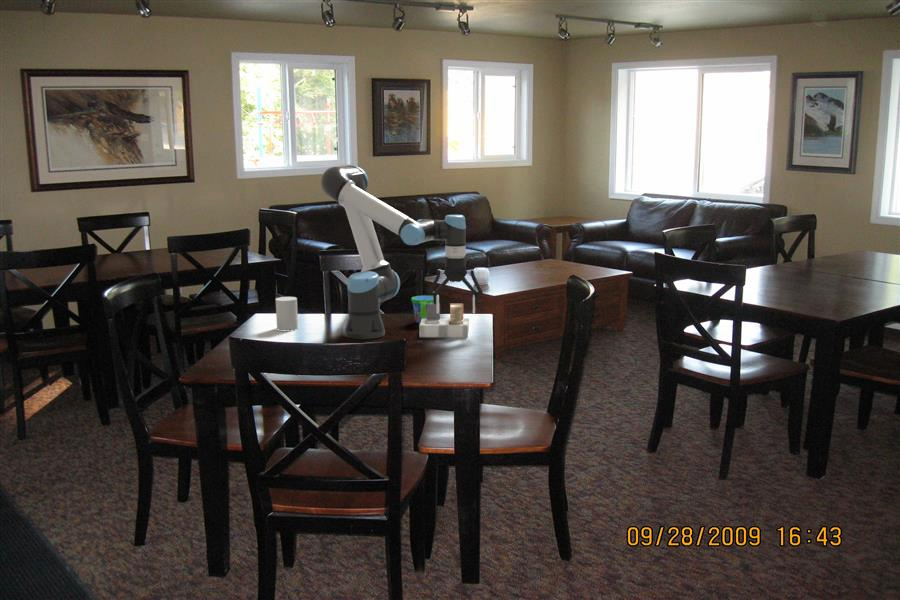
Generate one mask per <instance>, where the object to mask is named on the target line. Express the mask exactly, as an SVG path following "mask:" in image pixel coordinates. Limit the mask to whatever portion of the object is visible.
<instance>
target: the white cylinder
mask: <svg viewBox="0 0 900 600" xmlns="http://www.w3.org/2000/svg"><path fill="white" fill-rule="evenodd" d="M275 312H276V316H275V317H276V330H277V329H279V330H293V331H296V330H295V329H297V330H298V329H299V320H298V297H296V296H280V297H276V298H275ZM279 330H278V331H279Z"/></svg>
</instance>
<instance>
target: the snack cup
mask: <svg viewBox="0 0 900 600" xmlns="http://www.w3.org/2000/svg"><path fill="white" fill-rule="evenodd" d="M411 303H412V308H413V314H414V319H415V320H414V321H415V323H417V324H420V322H421V320H422V318H427V304H434V303H433V295H416V296H412V297H411Z"/></svg>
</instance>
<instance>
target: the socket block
mask: <svg viewBox="0 0 900 600" xmlns="http://www.w3.org/2000/svg"><path fill="white" fill-rule="evenodd" d="M451 305H461V325H453V324H451V312H450V311H449V318H441V304H440V303H439V313H437V311H436V304H427V318H422V320H421V322H420V323H419V326H418V327H419V328H418V330H419V333H418V335H419V338H469V337H468V336H469V331H470V330H469V327H470V324H469V321H470V320H469V318H464V303H449V308H450V307H451Z"/></svg>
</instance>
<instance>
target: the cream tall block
mask: <svg viewBox="0 0 900 600" xmlns="http://www.w3.org/2000/svg"><path fill="white" fill-rule="evenodd" d="M450 312H451V324H453V325H461V305H451V307H450V306H449V313H450Z"/></svg>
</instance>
